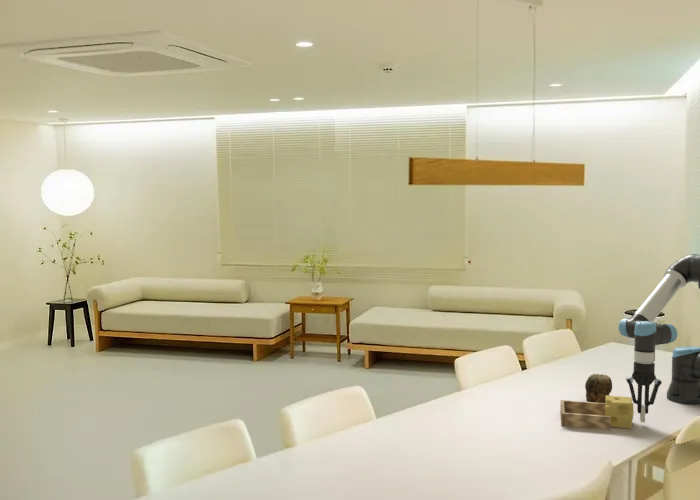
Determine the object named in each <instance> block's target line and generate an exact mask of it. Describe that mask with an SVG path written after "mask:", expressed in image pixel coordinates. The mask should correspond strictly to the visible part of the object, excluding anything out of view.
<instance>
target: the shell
mask: <svg viewBox="0 0 700 500" xmlns="http://www.w3.org/2000/svg"><path fill="white" fill-rule="evenodd" d="M584 388H585V391H586V392H585V400H586V402H595V403H605V400H606V395H610V394H611V393H612V391H613V380H612V379H611V377H610V376H609V375H607V374H603V373H602V374H599V373H593V374H591V375H589V376H588V377H587V380H586V381H585V385H584Z"/></svg>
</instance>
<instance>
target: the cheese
mask: <svg viewBox="0 0 700 500" xmlns="http://www.w3.org/2000/svg"><path fill="white" fill-rule="evenodd" d="M605 404H606V407H605V416H610V428H612V427H614V428H621V429H622V428H623V429H629V430H631V429H632V425H633V421H634V402H633V400H632V396H619V395H610V394H609V395H606V400H605Z"/></svg>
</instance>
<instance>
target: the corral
mask: <svg viewBox="0 0 700 500" xmlns="http://www.w3.org/2000/svg"><path fill="white" fill-rule="evenodd" d="M605 407H606V404H605V403H595V402H589V401H579V400H567V399H565V400H564V399H560V407H559V408H560V411H559V412H560V423H561V424H560V425H561V427H570V428H583V429H595V430H605V431H607V430H608V431H610V430H611V427H610V416H605Z"/></svg>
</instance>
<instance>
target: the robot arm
mask: <svg viewBox="0 0 700 500" xmlns="http://www.w3.org/2000/svg"><path fill="white" fill-rule="evenodd" d="M693 282H694V283H697V284H698V285H697V287H698V290H700V254H697V253H692V254H687V255H684V256H682V257H680V258H679V259H677V260H676V261H675V262H673V263H672V264H671V265H670V266H669V267H668V268H667V269H666V270H665V272H664V273H663V278H662V279H661V280H660V282H658V284H657V285H656V287H655V288H654V289H653V290H652V292H651V293H649V295H648V296H647V298H645V300H644V301H643V302H642V304H641V305H640V306H639V307H638V309H637V310H636V311H635V312H634V314H633V315H632V316H631V318H627V317H625V318H623V319H621V320H620V321H619V323H618V332H619V333H620V335H621V336H623V337H627V338H629V339H634V348H633V360H634V361H633V372H632V374H631V376H629V377H626V378H625V381H626V382H627V384H628V386H629V391H630V395H631V396H630V397H631V398H632V403H633V404H635V405H637V406H636V407H637V409H636V410H637V414H640V415H639V421H640V423H643V424H644V423H646V415H647V414H649V406H650V405H654V404H655V400H656V397H657V394H658V391H659V387H660V386H661V385H662V380H661V379H658V378H657V377H656V376H657V375H656V374H655V370H656V369H655V367H656V363H655V362H656V346H658V345H660V346H661V345H668V344H671V343H673V342H675V341H676V340H677V338H678V330H677V328H676V327H675V326H674V325H673V324H671V323H663V324H660V323H659V324H658V323H655V322H654V321H655V320H656V318H657V317H658V316H659V315H660V313H661V312H662V311H663V310H664V308H665V307H666V306H667V305H668V303H669V302H670V301H671V300H672V299H673V297H674V296H675V295H676V294H677V293H678V291H679V290H680V289H681V288H684V287H686V285H687V284H688V283H693ZM634 381H635V383H636V384H637V397H636V393H635V388H634V386H633V383H634ZM653 382H654V385H653V388H652V392H651V395H650V386H651V385H652V384H653ZM643 386H644V400H643V399H642V398H643ZM666 399H667V400H669V401H672V402H675V403H679V404H687V405H699V404H700V347H699V346H677V347H675V348H673V350H672V355H671V381H670V383H669V386H668V388H667V390H666ZM642 401H644V403H642Z"/></svg>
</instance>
